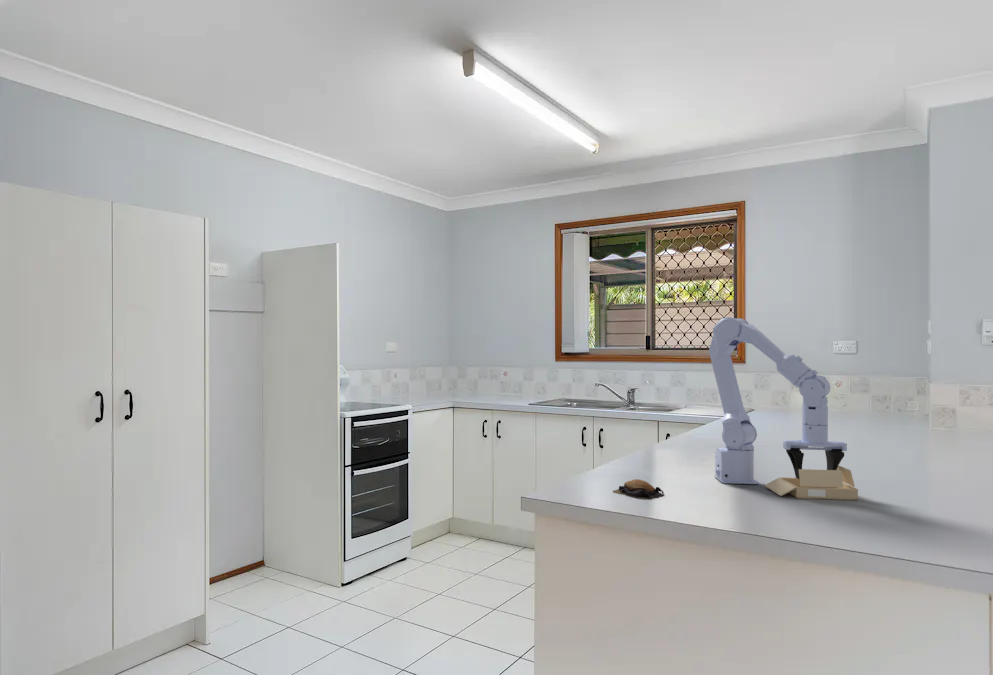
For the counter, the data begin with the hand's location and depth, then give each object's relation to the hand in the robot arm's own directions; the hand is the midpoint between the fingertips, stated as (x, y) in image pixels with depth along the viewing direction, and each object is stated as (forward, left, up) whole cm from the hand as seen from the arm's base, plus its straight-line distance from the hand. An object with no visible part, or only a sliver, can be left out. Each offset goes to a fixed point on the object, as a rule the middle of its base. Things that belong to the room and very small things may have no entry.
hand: (814, 478), depth 152 cm
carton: (-2, +1, -3) cm, 4 cm away
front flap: (-1, -6, +1) cm, 6 cm away
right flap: (+6, -1, +1) cm, 7 cm away
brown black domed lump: (-44, -6, -4) cm, 45 cm away
